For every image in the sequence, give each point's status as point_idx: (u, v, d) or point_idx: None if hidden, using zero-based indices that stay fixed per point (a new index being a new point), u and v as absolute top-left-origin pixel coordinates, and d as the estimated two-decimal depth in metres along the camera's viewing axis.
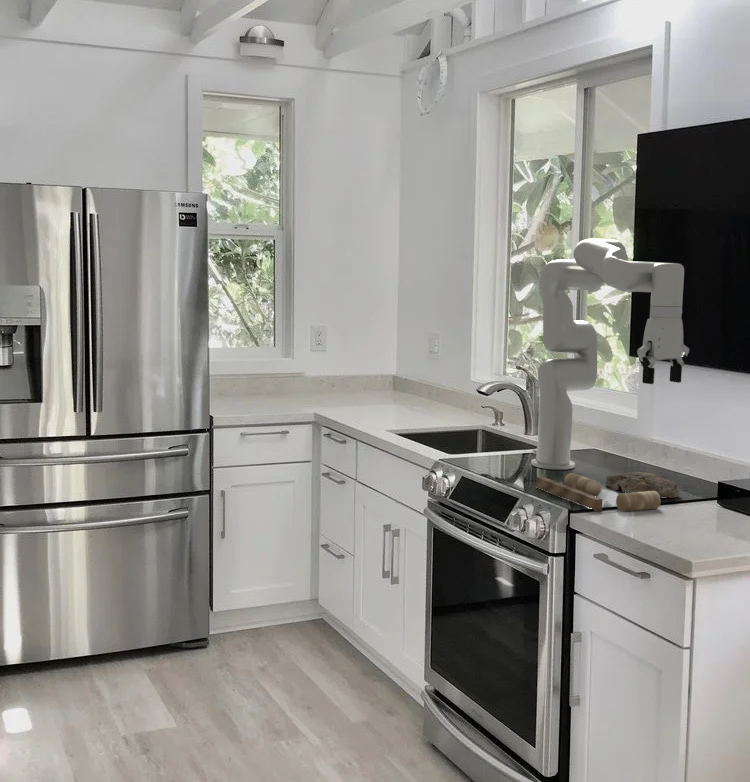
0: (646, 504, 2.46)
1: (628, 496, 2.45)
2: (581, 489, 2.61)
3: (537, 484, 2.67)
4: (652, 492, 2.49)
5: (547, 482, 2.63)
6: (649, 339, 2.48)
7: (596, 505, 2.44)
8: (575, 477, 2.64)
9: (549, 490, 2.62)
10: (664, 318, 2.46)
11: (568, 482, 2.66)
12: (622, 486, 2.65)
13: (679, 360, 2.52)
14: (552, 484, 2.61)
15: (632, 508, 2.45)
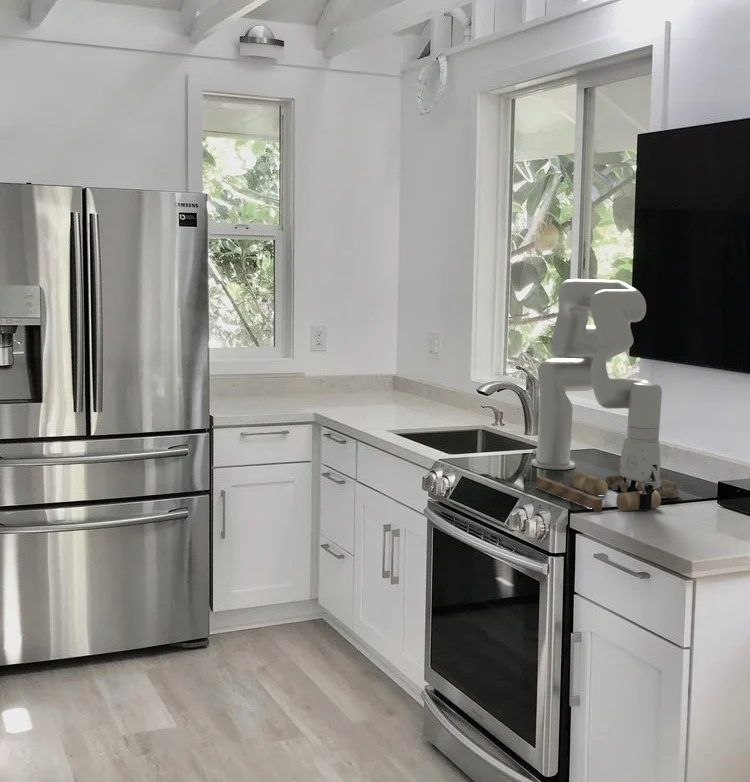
0: None
1: (628, 495, 2.45)
2: (591, 480, 2.62)
3: (537, 484, 2.67)
4: None
5: (547, 482, 2.63)
6: (654, 463, 2.42)
7: (596, 505, 2.44)
8: None
9: (549, 490, 2.62)
10: (658, 439, 2.44)
11: (579, 474, 2.67)
12: (621, 486, 2.65)
13: None
14: (552, 484, 2.61)
15: (632, 508, 2.45)
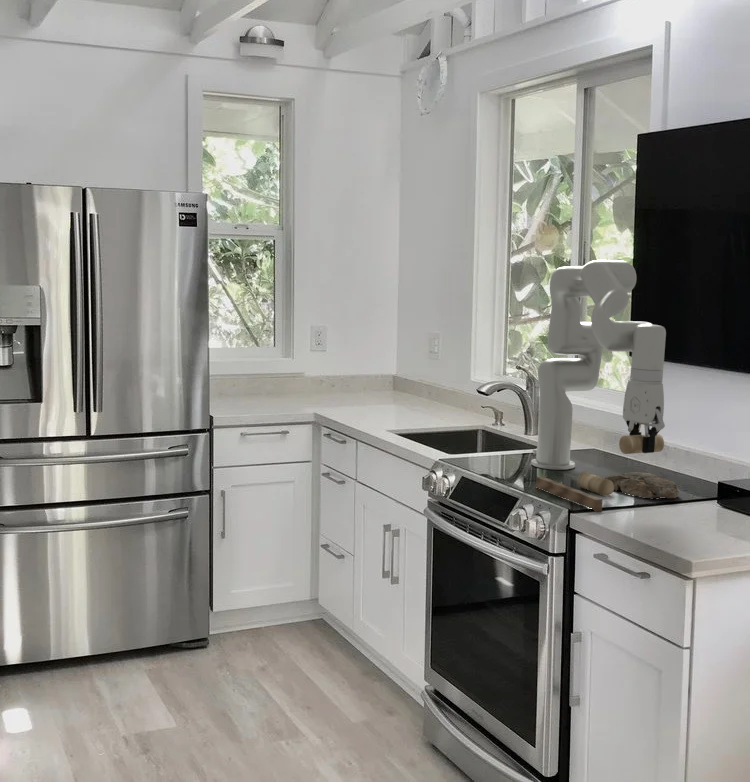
0: None
1: (631, 438, 2.43)
2: (603, 478, 2.63)
3: (537, 484, 2.67)
4: None
5: (547, 482, 2.63)
6: (657, 405, 2.40)
7: (596, 505, 2.44)
8: None
9: (549, 490, 2.62)
10: (661, 381, 2.42)
11: None
12: (621, 487, 2.65)
13: None
14: (552, 484, 2.61)
15: (635, 450, 2.44)
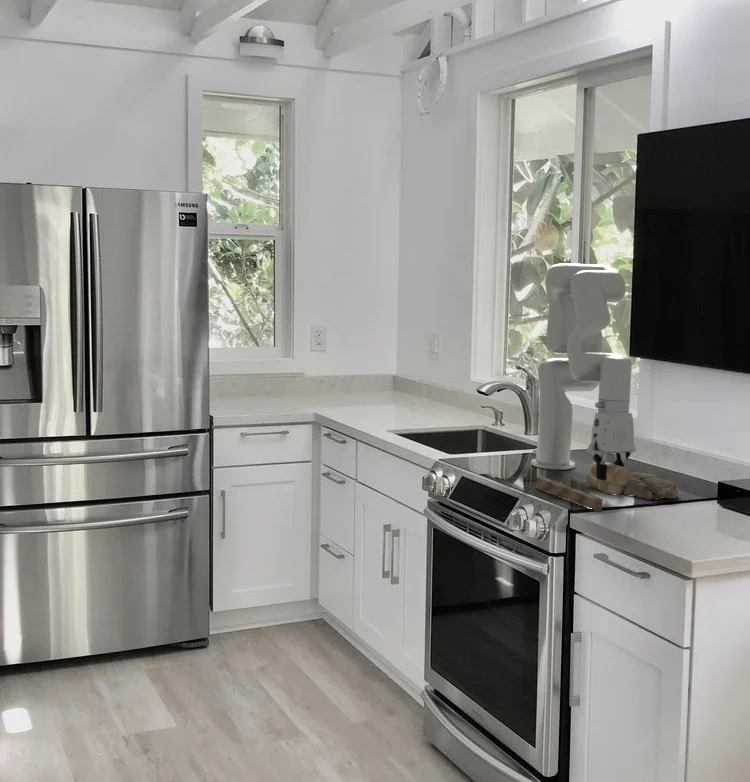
0: None
1: None
2: None
3: (537, 484, 2.67)
4: None
5: (547, 482, 2.63)
6: None
7: (596, 505, 2.44)
8: None
9: (549, 490, 2.62)
10: None
11: None
12: None
13: None
14: (552, 484, 2.61)
15: None
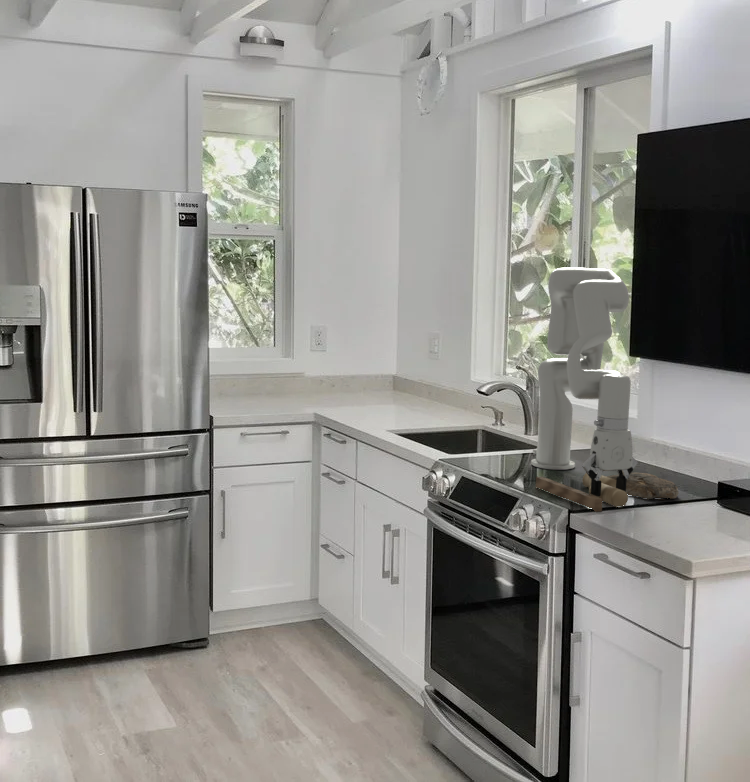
0: None
1: None
2: None
3: (537, 484, 2.67)
4: (602, 483, 2.57)
5: (547, 482, 2.63)
6: None
7: (596, 505, 2.44)
8: None
9: (549, 490, 2.62)
10: None
11: None
12: None
13: None
14: (552, 484, 2.61)
15: None
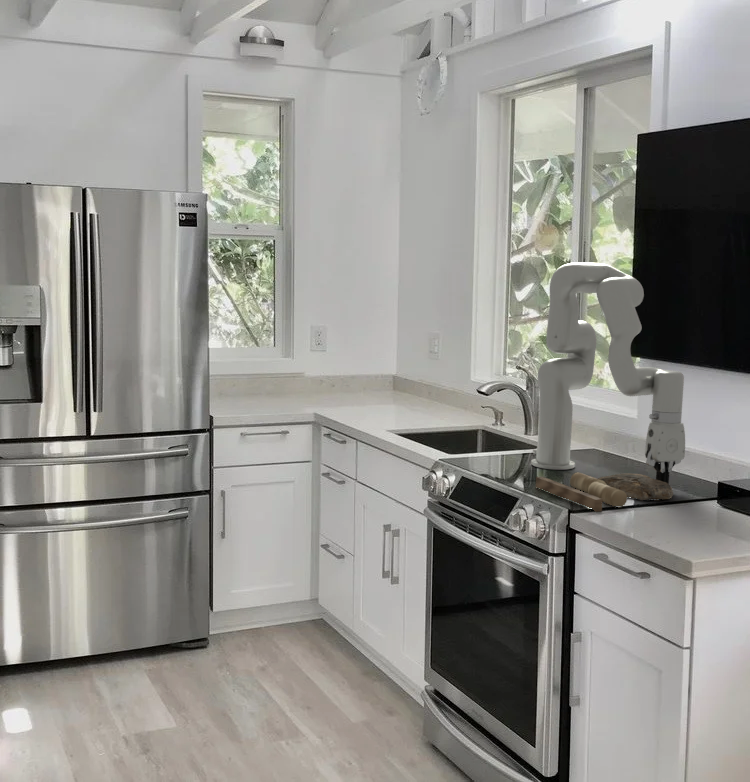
0: None
1: (621, 490, 2.50)
2: (589, 481, 2.61)
3: (537, 484, 2.67)
4: (600, 483, 2.57)
5: (547, 482, 2.63)
6: None
7: (596, 505, 2.44)
8: (587, 475, 2.66)
9: (549, 490, 2.62)
10: None
11: (577, 475, 2.67)
12: None
13: None
14: (552, 484, 2.61)
15: None
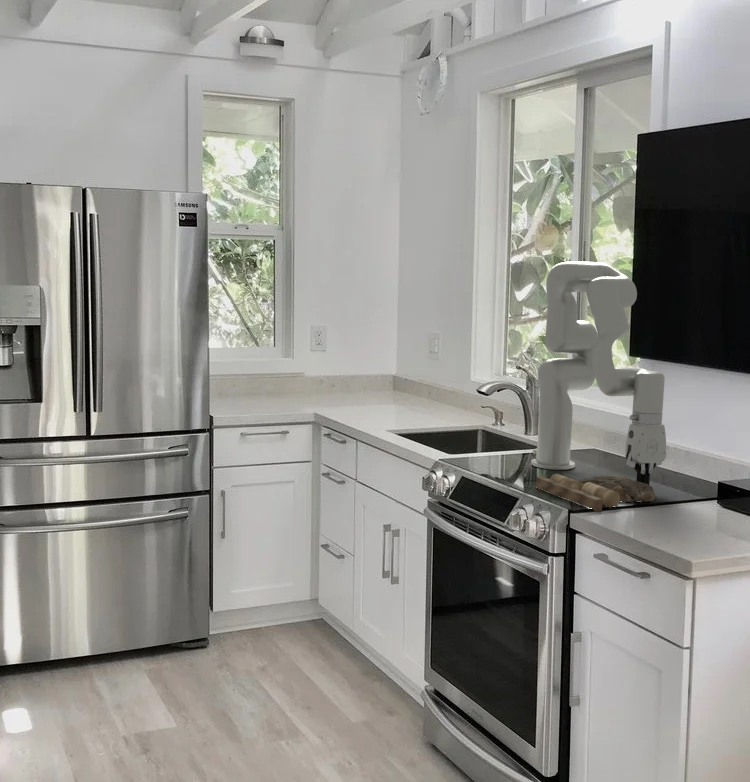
0: None
1: (607, 492, 2.49)
2: None
3: (537, 484, 2.67)
4: (586, 486, 2.56)
5: (547, 482, 2.63)
6: None
7: (596, 505, 2.44)
8: None
9: (549, 490, 2.62)
10: None
11: None
12: None
13: None
14: (552, 484, 2.61)
15: None
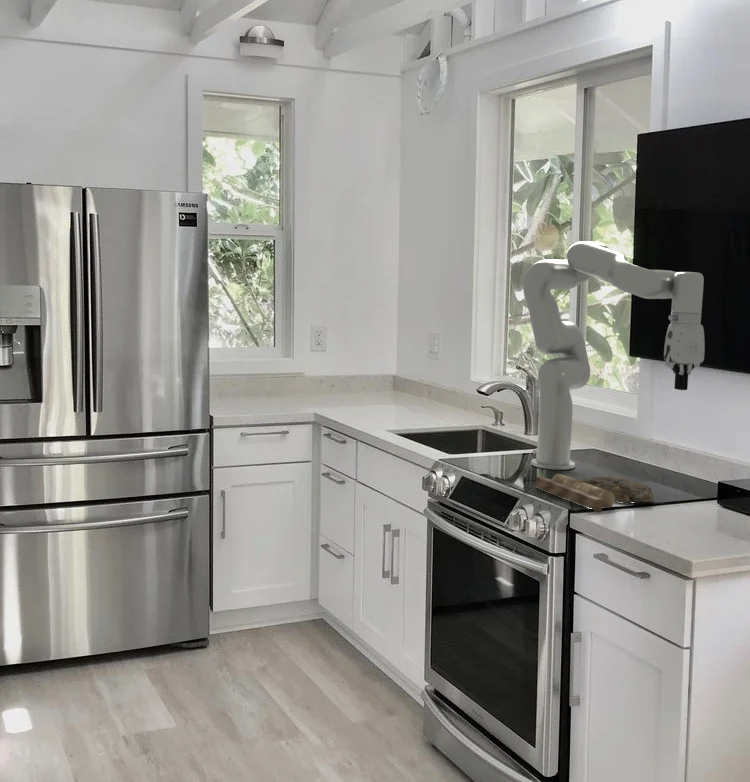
0: (592, 486, 2.53)
1: None
2: None
3: (537, 484, 2.67)
4: None
5: (547, 482, 2.63)
6: None
7: (596, 505, 2.44)
8: None
9: (549, 490, 2.62)
10: None
11: None
12: None
13: None
14: (552, 484, 2.61)
15: (604, 490, 2.50)
